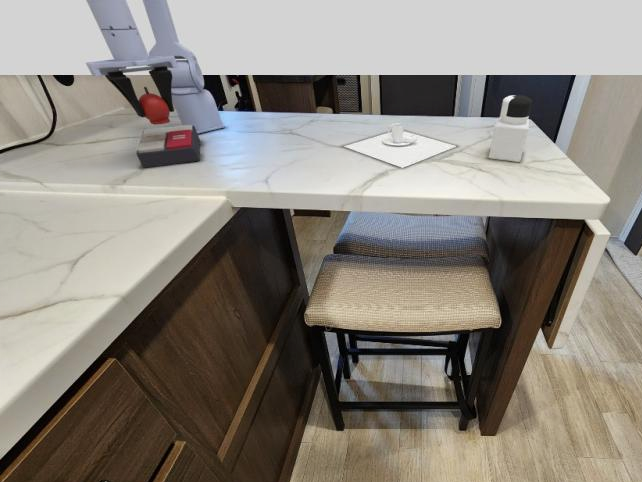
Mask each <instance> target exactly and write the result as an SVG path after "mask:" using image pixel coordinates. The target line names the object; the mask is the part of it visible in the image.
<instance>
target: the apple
mask: <svg viewBox="0 0 642 482" xmlns="http://www.w3.org/2000/svg"><path fill="white" fill-rule="evenodd" d="M143 89H144V92H145V93H143V94H142V95H141V96H140V97H139V98H138V101H139V103H140V105H141V107H142V109H143V111H144V113H145V116H146V117H145V119H147V120H148V121H149V123H150V124H151V125H164V124H167V123H170V121H171V120H170V114H171V112H170V110H169V107H168V105H167V103H166V102H165V101H164V100H163V99H162V98H161V96H160V95H157V94H155V93H151V92H150V91H149V90H148V87H147V86H144V87H143Z"/></svg>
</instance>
